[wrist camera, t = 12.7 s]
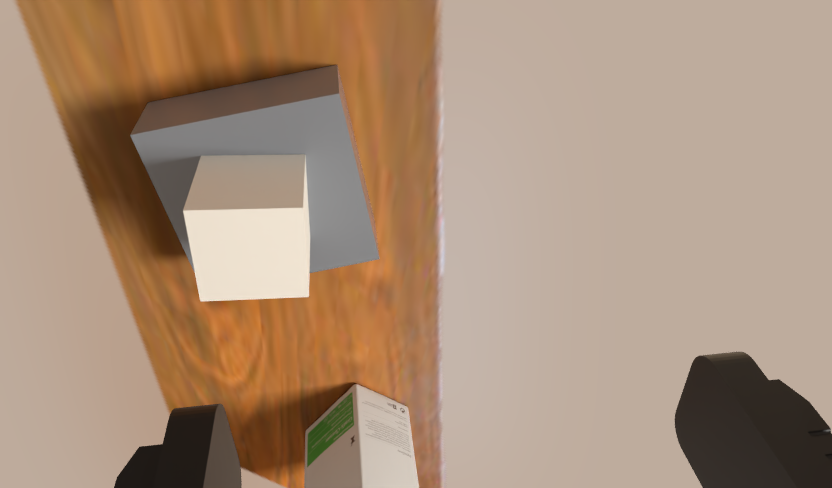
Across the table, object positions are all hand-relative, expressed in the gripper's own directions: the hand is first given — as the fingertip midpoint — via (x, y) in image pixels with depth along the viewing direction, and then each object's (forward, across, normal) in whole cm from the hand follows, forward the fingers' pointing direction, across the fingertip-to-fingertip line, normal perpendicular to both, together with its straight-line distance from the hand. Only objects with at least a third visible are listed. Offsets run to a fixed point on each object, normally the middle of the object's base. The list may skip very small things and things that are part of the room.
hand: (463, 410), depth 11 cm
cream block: (+27, +7, +12) cm, 31 cm away
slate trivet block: (+32, +7, +12) cm, 35 cm away
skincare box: (+32, +3, +39) cm, 51 cm away
